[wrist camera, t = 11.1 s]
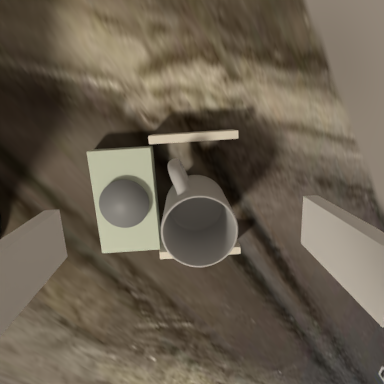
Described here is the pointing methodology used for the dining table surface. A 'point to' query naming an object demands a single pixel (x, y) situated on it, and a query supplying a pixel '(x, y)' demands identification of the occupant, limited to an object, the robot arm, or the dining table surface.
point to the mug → (197, 219)
